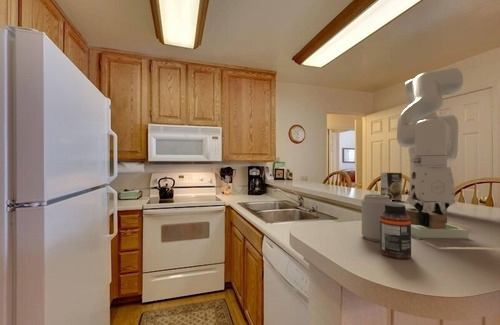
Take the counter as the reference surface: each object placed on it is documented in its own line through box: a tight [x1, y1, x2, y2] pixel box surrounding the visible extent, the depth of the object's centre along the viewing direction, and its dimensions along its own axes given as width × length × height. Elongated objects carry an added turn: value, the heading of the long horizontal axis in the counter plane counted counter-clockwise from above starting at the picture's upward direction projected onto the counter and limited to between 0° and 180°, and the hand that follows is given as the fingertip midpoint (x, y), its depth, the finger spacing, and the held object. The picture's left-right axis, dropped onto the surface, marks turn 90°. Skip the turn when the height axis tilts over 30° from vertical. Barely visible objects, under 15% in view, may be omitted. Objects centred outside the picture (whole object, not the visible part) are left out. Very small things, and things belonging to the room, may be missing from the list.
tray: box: [411, 223, 469, 241], centre depth 73 cm, size 17×13×3 cm
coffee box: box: [380, 172, 403, 201], centre depth 138 cm, size 9×6×16 cm
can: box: [361, 193, 393, 243], centre depth 66 cm, size 8×8×12 cm
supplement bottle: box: [379, 202, 412, 260], centre depth 54 cm, size 6×6×11 cm
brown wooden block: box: [405, 207, 446, 229], centre depth 72 cm, size 12×7×4 cm, turn 179°
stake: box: [443, 208, 473, 229], centre depth 81 cm, size 11×9×10 cm
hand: (430, 225), depth 69 cm, fingers closed on brown wooden block, 3 cm apart
